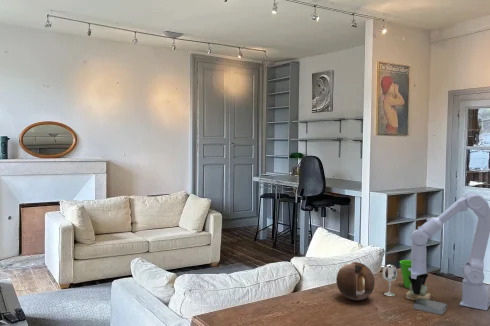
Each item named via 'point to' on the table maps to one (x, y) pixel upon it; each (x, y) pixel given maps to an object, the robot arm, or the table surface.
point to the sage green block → (422, 294)
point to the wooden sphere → (355, 281)
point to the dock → (430, 306)
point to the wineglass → (389, 276)
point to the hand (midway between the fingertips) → (418, 292)
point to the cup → (406, 272)
